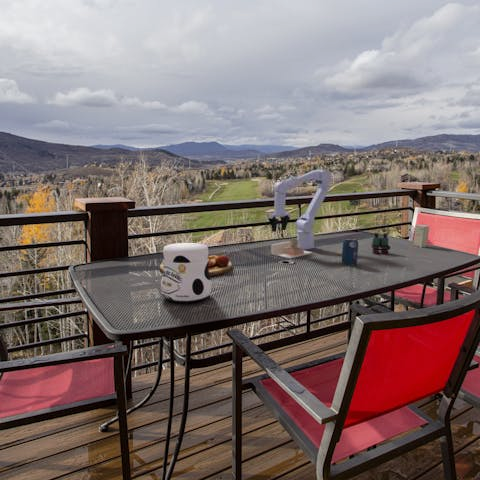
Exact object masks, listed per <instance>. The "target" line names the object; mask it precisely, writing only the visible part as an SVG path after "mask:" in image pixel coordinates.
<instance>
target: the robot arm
mask: <svg viewBox="0 0 480 480" xmlns="http://www.w3.org/2000/svg"><path fill="white" fill-rule="evenodd" d="M332 179H333V176H332V173H331V172H330V170H328V169H319V168H318V169H314V170H310V171H309V172H307V173H304V174H302V175H300V176H298V177H296V176H289V178H287V179H285V180H284V179H283V180H281V182H280V181H278V182H275V184H274V185H273V187H272V191H273V193H274V203H273V204H274V207H273V208H274V211H273V212H272V213H271V214H270V213H269V214H268V218H267V219H268V222H269V224H270V226H271V231H272V232H274V233H276V232H277V230H278V229H277V228H278V223H279V219H278V218H280V223H281V224H280V225H281V226H280V227H281V230H282V231H286V229H287V226H288V223H289V222H290V220H291V217H290V212H286V194H287V193H288V192H289V191H291V190H293V189H296V188H298V187H299V185H300V184H303V183H305V182H308V181H311V180H313V181H314V182H315V184H316V186H317V190H316V192H315V194H314V196H313V198H312V199H311V201H310V203H309V205H308V207H307V209H306V211H305V213H303V214H302V215H301V216H300V218H298V219H297V220H296V221H295V228H296V229H297V234H296V235H297V238H296V239H297V240H298V247H299V248H304V251H307V250H310V249H314V248H316V246H315V234H314V232H313V230H314V225H315V223H316V220H315V216H316V215H317V213H318V211H319V209H320V208H321V206H322V204H323V202H324V200H325V198H326V196H327V194H329V193H328V192H329V191H330V185H331V180H332Z"/></svg>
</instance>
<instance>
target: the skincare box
mask: <svg viewBox="0 0 480 480" xmlns="http://www.w3.org/2000/svg"><path fill="white" fill-rule="evenodd" d="M429 233H430V225H425V224H415V228H414V237H413V246H414V245H415V247H418V246H419V247H418V248H427V247H428V241H429ZM426 246H427V247H426Z"/></svg>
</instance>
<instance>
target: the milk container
mask: <svg viewBox="0 0 480 480" xmlns="http://www.w3.org/2000/svg"><path fill="white" fill-rule="evenodd" d="M162 249H163V250H162V263H163V272H162V276H161V281H160V290H161V295H162V296H163V298H164V299H166V300H168V301H171V302H175V303H194V302H195V303H196V302H200V301H202V300H205V299H206V298H207V297H209V296H210V294H211V291H212V278H211V276H210V275H209V258H208V257H209V256H210V254H209V246H207V245H206V244H203V243H195V242H194V243H193V242H178V243H170V244H167V245H165V246H163V248H162Z"/></svg>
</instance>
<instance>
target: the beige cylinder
mask: <svg viewBox="0 0 480 480" xmlns="http://www.w3.org/2000/svg"><path fill="white" fill-rule="evenodd" d="M289 241H290V249H291V250H298V240H297V238H296V239H295V238H290V240H289Z"/></svg>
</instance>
